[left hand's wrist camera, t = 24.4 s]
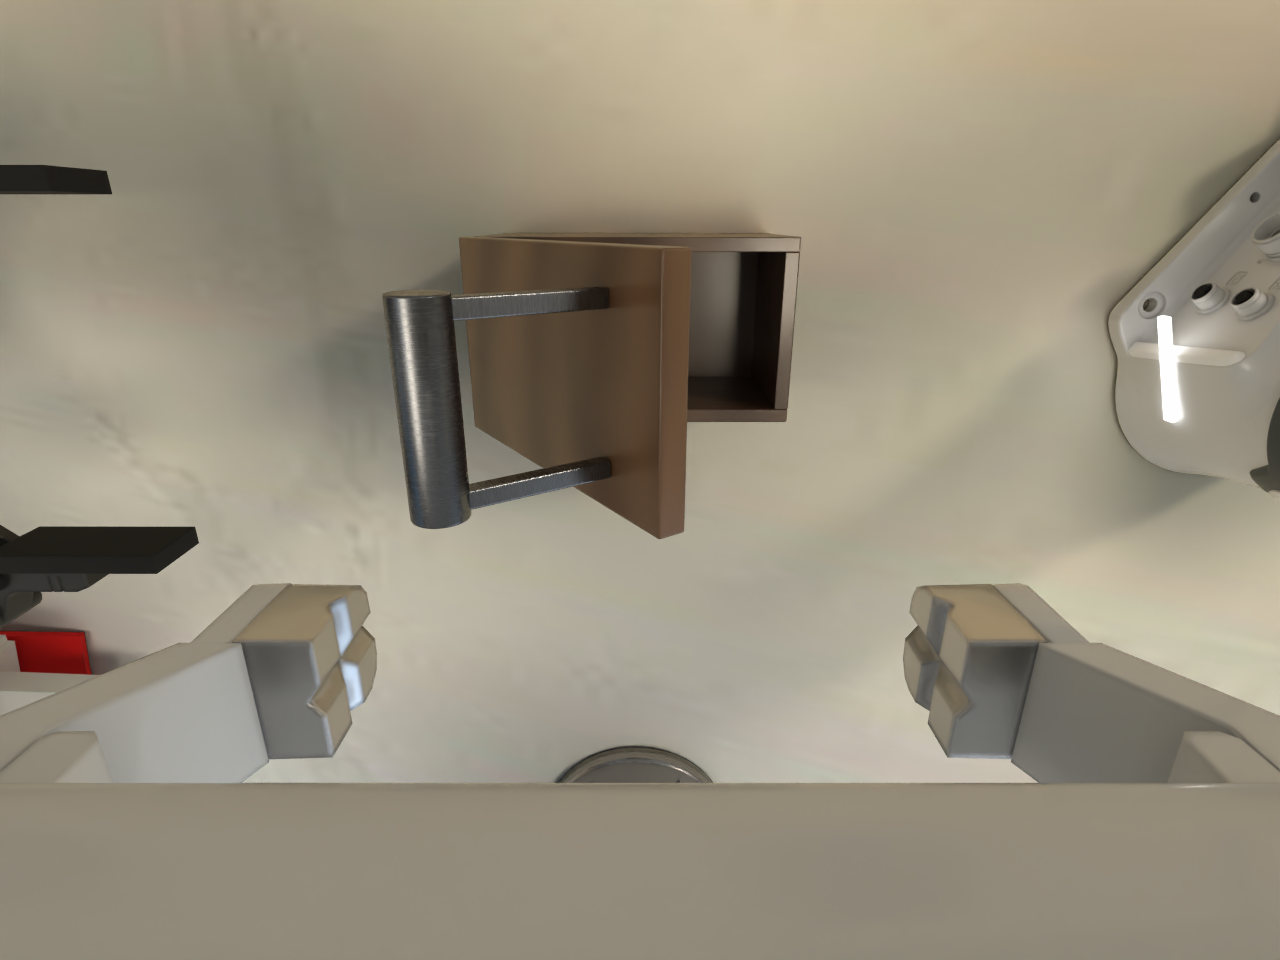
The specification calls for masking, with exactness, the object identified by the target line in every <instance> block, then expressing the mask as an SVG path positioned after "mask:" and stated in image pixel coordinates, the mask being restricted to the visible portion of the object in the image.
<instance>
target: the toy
mask: <svg viewBox="0 0 1280 960" xmlns="http://www.w3.org/2000/svg"><path fill="white" fill-rule="evenodd" d="M97 676H99V675H91V669H90V663H89V658H88V652H87V646H86V640H85V635H84V632H19V631H0V716H1V715H3V714H6V713H8V712H11V711H13V710H16V709H18V708H21V707H23V706H25V705H28V704H30V703H33V702H35V701H38V700H40V699H43V698H45V697H48V696H50V695H52V694H55V693H57V692H60V691H62V690H65V689H67V688H70V687H72V686H75V685H77V684H79V683H82V682H84V681H87V680H89V679H92V678H94V677H97Z"/></svg>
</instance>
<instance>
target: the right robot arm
mask: <svg viewBox="0 0 1280 960" xmlns="http://www.w3.org/2000/svg"><path fill="white" fill-rule="evenodd" d="M0 194H112V191H111V187H110V183H109V179H108V175H107V171H101V170H91V169H80V168H69V167H58V166H48V165H0ZM198 543H199V541H198V537H197V533H196V529H195V527H38V528H36V529H34V530H32V531H30V532H28V533H26V534H24V535H22V536H20V537H19V536H18V535H16V534H14V533H13V532H11V531H9V530H8V529H6V528H5V527H3V526H1V525H0V628H1V627H3V626H5V625H6V624H8V623H9V622H11V621H12V620H14V619H16V618H17V617H19V616H20V615H22V614H23V613H25V612H27V611H28V610H30V609H31V608H33V607H34V606H36V605H37V604H39V603H40V602H41V600H42V594H41V592H52V591H54V592H62V591H64V592H78V591H81V590H83V589H86V588H88V587H90V586H91V585H93V584H94V583H96V582H97V581H99V580H100V579H102V578H103V577H105V576H106V575H108V574H157V573H159V572H160V571H161V570H163V569H164V568H165V567H167V566H168V565H169V564H171V563H172V562H174V561H175V560H176V559H178V558H179V557H180V556H182V555H183V554H185V553H186V552H187V551H189V550H190V549H191V548H193V547H194V546H196V545H197V544H198ZM559 783H713V782H712V781H711V779H710V778H709V777H708V776H707V775H706V774H705V773H704V772H703V771H702V770H701V769H699V768H698V767H697V766H695V765H694V764H692V763H691V762H689V761H687V760H686V759H684V758H682V757H679V756H677V755H674V754H672V753H669V752H665V751H661V750H656V749H650V748H621V749H615V750H610V751H606V752H603V753H600V754H597V755H594V756H592V757H590V758H588V759H586V760H584V761H582V762H581V763H579V764H577V765H576V766H575V767H573V768H572V769H571V770H570V771H569V772H568V773H566V775H565V776H564V777H563V778H562V779H561V780H560V782H559Z"/></svg>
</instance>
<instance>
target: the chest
mask: <svg viewBox="0 0 1280 960" xmlns="http://www.w3.org/2000/svg"><path fill="white" fill-rule="evenodd" d="M474 237H494V238H514V239H535V240H555V241H576V242H596V243H617V244H637V245H658V246H678V247H689V248H691V285H690V323H689V361H688V399H687V422H786V419H787V408H788V396H789V383H790V370H791V358H792V345H793V332H794V320H795V307H796V294H797V282H798V269H799V256H800V253H799V252H800V244H801V237H795V236H785V235H775V234H638V233H504V234H496V235H485V236H474Z"/></svg>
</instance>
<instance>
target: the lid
mask: <svg viewBox="0 0 1280 960" xmlns="http://www.w3.org/2000/svg"><path fill="white" fill-rule="evenodd" d="M459 245H460V256H461V268H462V280H463V291H464V294H459V295H451V293H450V292H448V291H444V290H403V291H392V292H387V293H384V294H383V296H382V298H383V305H384V313H385V321H386V329H387V337H388V345H389V353H390V361H391V369H392V377H393V384H394V392H395V400H396V408H397V416H398V424H399V432H400V440H401V448H402V456H403V464H404V471H405V479H406V487H407V495H408V503H409V511H410V519H411V522H412V523H413V524H414V525H416V526H418V527H421V528H428V529H440V528H447V527H452V526H456V525H459V524H461V523H463V522H465V521H467V520H468V519H469V518H470V516H471V510H472V509H476V508H480V507H485V506H489V505H493V504H498V503H502V502H507V501H511V500H515V499H520V498H524V497H528V496H533V495H537V494H541V493H546V492H550V491H554V490H559V489H563V488H568V487H572V486H573V487H575V488H576V489H578V490H580V491H581V492H583V493H584V494H586V495H588V496H589V497H591V498H593V499H594V500H596V501H598V502H599V503H601V504H602V505H604V506H606V507H607V508H609V509H611V510H612V511H614V512H615V513H617V514H619V515H620V516H622V517H624V518H625V519H627V520H628V521H630V522H632V523H633V524H635V525H637V526H638V527H640V528H641V529H643V530H645V531H646V532H648V533H650V534H651V535H653V536H654V537H656V538H658V539H662V538H665V537H669V536H672V535H675V534H679V533H682V532H684V513H685V475H686V437H687V399H688V361H689V323H690V285H691V248H689V247H678V246H658V245H637V244H617V243H596V242H576V241H555V240H535V239H514V238H494V237H460V238H459ZM457 320H466V326H467V338H468V349H469V361H470V373H471V384H472V396H473V407H474V419H475V426H476V427H477V428H479V429H480V430H482V431H484V432H485V433H487V434H489V435H490V436H492V437H493V438H495V439H497V440H498V441H500V442H502V443H503V444H505V445H506V446H508V447H510V448H511V449H513V450H515V451H516V452H518V453H519V454H521V455H523V456H524V457H526V458H528V459H529V460H531V461H532V462H534V463H536V464H537V465H539V466H541V467H542V468H544V469H539V470H535V471H530V472H525V473H520V474H515V475H511V476H506V477H501V478H496V479H491V480H487V481H482V482H477V483H472V484H469V481H468V470H467V459H466V448H465V438H464V427H463V416H462V405H461V394H460V383H459V373H458V362H457V351H456V340H455V329H454V321H457Z"/></svg>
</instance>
